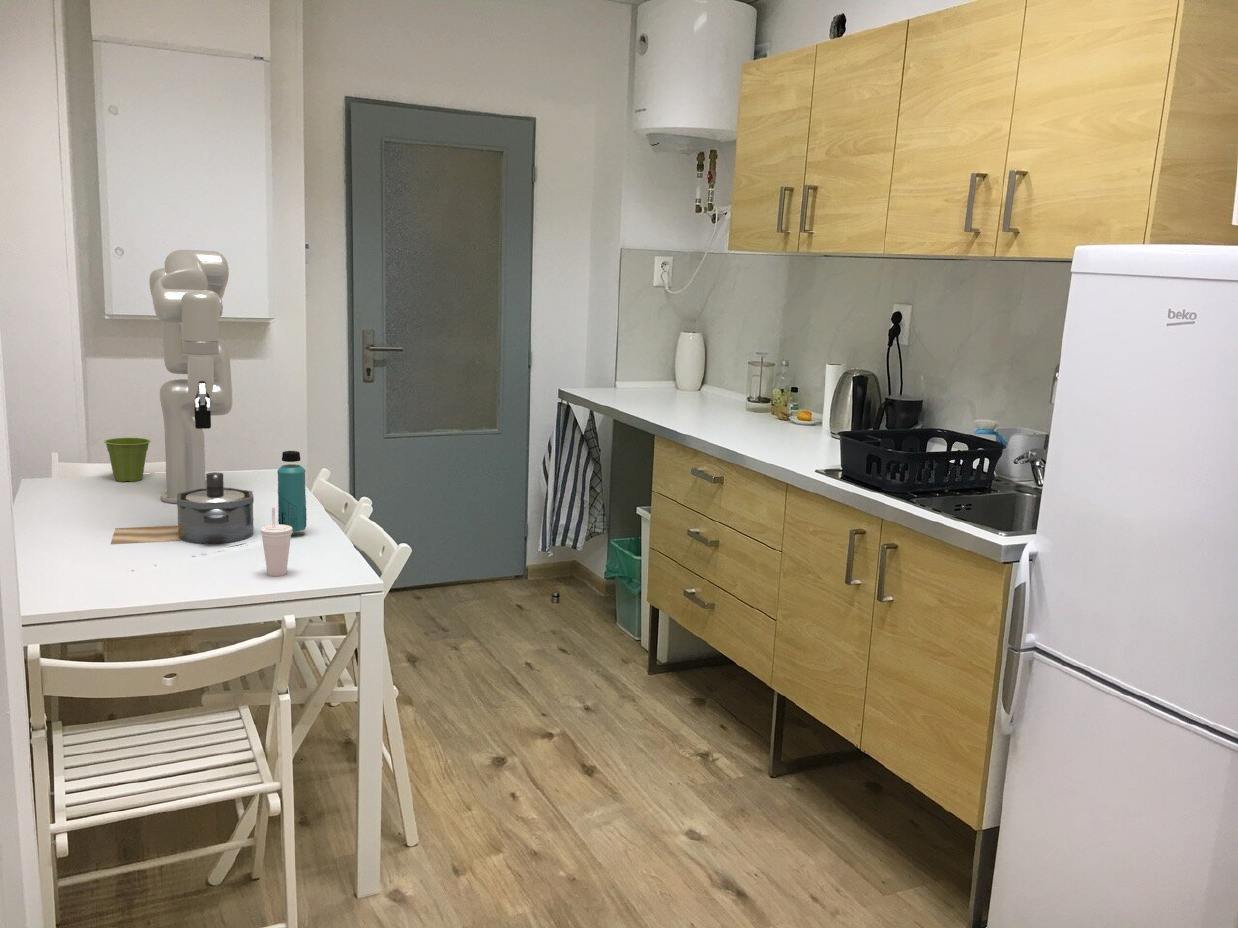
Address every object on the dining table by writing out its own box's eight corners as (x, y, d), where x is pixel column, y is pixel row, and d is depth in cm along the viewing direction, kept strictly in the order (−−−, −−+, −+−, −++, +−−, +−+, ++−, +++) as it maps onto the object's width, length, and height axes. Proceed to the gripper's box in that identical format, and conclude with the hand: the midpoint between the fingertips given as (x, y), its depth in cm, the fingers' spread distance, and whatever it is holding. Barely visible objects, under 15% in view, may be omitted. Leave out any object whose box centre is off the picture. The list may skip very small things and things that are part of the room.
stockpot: (179, 529, 239) (178, 487, 237) (251, 526, 245) (250, 484, 243) (177, 553, 220) (176, 507, 219) (255, 549, 226) (255, 504, 225)
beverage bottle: (312, 533, 242) (312, 450, 238) (295, 539, 236) (294, 454, 232) (289, 529, 244) (288, 447, 240) (271, 536, 238) (270, 451, 234)
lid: (221, 491, 240) (220, 466, 239) (256, 499, 233) (255, 474, 232) (174, 500, 229) (173, 474, 228) (208, 508, 223) (208, 482, 222)
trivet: (115, 532, 234) (115, 528, 234) (181, 529, 239) (181, 525, 239) (110, 548, 221) (110, 544, 221) (180, 545, 227) (180, 540, 226)
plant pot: (139, 485, 282) (138, 445, 280) (97, 482, 282) (95, 443, 280) (159, 476, 294) (158, 438, 292) (118, 474, 294) (116, 436, 292)
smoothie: (265, 568, 213) (264, 503, 210) (296, 569, 213) (295, 504, 211) (256, 577, 206) (255, 510, 204) (289, 578, 207) (288, 511, 204)
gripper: (182, 344, 232) (184, 418, 236) (182, 352, 217) (184, 431, 220) (217, 345, 235) (219, 418, 239) (220, 353, 220) (222, 431, 223)
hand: (202, 424), depth 229 cm, fingers open, 9 cm apart
